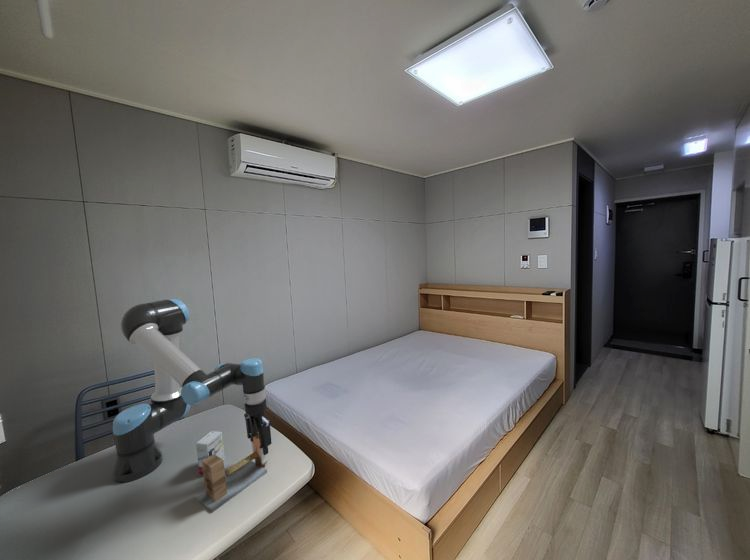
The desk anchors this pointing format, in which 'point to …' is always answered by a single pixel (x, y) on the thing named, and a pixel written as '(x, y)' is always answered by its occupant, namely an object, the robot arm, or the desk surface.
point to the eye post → (225, 481)
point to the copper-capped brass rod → (249, 457)
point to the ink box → (210, 447)
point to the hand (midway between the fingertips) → (261, 459)
